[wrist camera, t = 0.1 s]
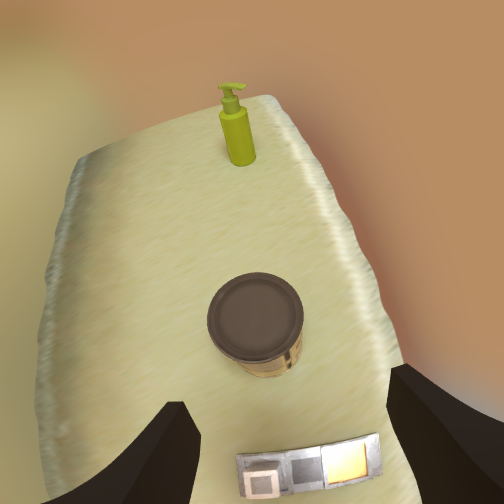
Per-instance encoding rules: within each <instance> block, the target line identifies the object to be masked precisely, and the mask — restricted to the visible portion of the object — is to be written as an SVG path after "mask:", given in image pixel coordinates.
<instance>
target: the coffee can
mask: <svg viewBox="0 0 504 504" xmlns="http://www.w3.org/2000/svg"><path fill="white" fill-rule="evenodd" d="M303 318H304V312H303V306H302V303H301V300H300V298H299V296H298V294H297V292H296V291H295V289H294V288H293V287H292V286H291V285H290V284H289V283H288V282H286V281H285V280H283V279H281V278H279V277H277V276H275V275H272V274H268V273H261V272H255V273H248V274H243V275H241V276H238V277H235V278H234V279H232V280H230V281H228V282H227V283H226V284H224V285H223V286H222V287H221V288H220V289H219V290H218V291H217V293H216V294H215V296H214V297H213V299H212V301H211V303H210V306H209V309H208V315H207V326H208V331H209V334H210V337H211V339H212V341H213V343H214V344H215V345H216V347H217V348H218V349H219V350H220V351H221V352H222V353H223V354H224V355H226V356H227V357H229V358H231V359H233V360H234V361H235V362H237V363H238V364H239V365H241V366H242V367H243V368H244V369H245V370H246V371H247V372H249V373H251V374H253V375H255V376H258V377H264V378H271V377H277V376H279V375H282V374H284V373H286V372H287V371H289V370H290V369H291V368H292V367H293V366H294V365H295V364H296V362H297V361H298V359H299V357H300V354H301V349H302V325H303Z"/></svg>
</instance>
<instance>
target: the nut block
mask: <svg viewBox="0 0 504 504" xmlns="http://www.w3.org/2000/svg"><path fill="white" fill-rule="evenodd" d="M243 474H244V483H245V492H246V499H265V498H279V497H280V495H281V491H282V486H283V484H282V475H281V466H280V462H269V463H255V464H250V466H249V467H248V468H247V469H246V470H245V471H244V472H243Z"/></svg>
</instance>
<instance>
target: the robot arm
mask: <svg viewBox="0 0 504 504" xmlns="http://www.w3.org/2000/svg"><path fill="white" fill-rule="evenodd" d="M386 408H387V411H388V414H389V417H390V420H391V423H392V427H393V429H394V432H395V434H396V436H397V438H398V440H399V443H400V445H401V447H402V449H403V451H404V453H405V456H406V458H407V460H408V462H409V464H410V467H411V469H412V471H413V473H414V476H415V479H416V481H417V485H418V488H419V492H420V496H421V500H422V504H504V423H503V422H501V421H498V420H496V419H493V418H491V417H489V416H487V415H485V414H482V413H480V412H478V411H477V410H475V409H473V408H471V407H469V406H468V405H466V404H464V403H463V402H461V401H459V400H458V399H456V398H455V397H453V396H451V395H450V394H449V393H447V392H445V391H444V390H443V389H441V388H440V387H438V386H437V385H436V384H434V383H433V382H432V381H430V380H429V379H427V378H426V377H425V376H423V375H422V374H421V373H419V372H418V371H416V370H415V369H414V368H413V367H411V366H410V365H408V364H407V363H406V364H403V365H400V366H397V367H394V368H391V375H390V383H389V391H388V398H387V404H386ZM200 444H201V434H200V432H199V430H198V429H197V427H196V425H195V423H194V421H193V419H192V417H191V416H190V414H189V412H188V410H187V408H186V406H185V404H184V402H183V401H182V402H167V403H166V404H165V405H164V407H163V408H162V409H161V410H160V411H159V413H158V414H157V415H156V416H155V417H154V418H153V420H152V421H151V422H150V423H149V424H148V425H147V427H146V428H145V429H144V430H143V431H142V432H141V433H140V434H139V436H138V437H137V438H136V439H135V440H134V441H133V442H132V443H131V444H130V445H129V446H128V447H127V448H126V449H125V450H124V451H123V452H122V453H121V454H120V455H119V456H118V457H117V458H116V459H115V460H114V461H113V462H112V463H111V464H109V465H108V466H107V467H106V468H105V469H103V470H102V471H101V472H99V473H98V474H97V475H95V476H94V477H93V478H91V479H90V480H88V481H87V482H85V483H83V484H82V485H80V486H79V487H77V488H75V489H74V490H72V491H70V492H68V493H66V494H64V495H62V496H60V497H57V498H55V499H53V500H50V501H48V502H45V503H42V504H189V502H190V498H191V494H192V489H193V485H194V481H195V476H196V472H197V467H198V462H199V457H200Z"/></svg>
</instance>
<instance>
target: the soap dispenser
mask: <svg viewBox="0 0 504 504" xmlns="http://www.w3.org/2000/svg"><path fill="white" fill-rule="evenodd" d="M245 86H246V85H245V84H241V83H236V82H228V83H222V84H221V85H220V86H218V88H219V89H223V91H224V95H225V96H224V97H223V98H222V100H221V101H222V105H223V109H224V110H222V111H221V112H220V113H219V117H220V121H221V125H222V128H223V132H224V136H225V139H226V143H227V147H228V151H229V154H230V158H231V162H232V163H233V164H234V165H236V166H246V165H249V164H251V163H252V162H254V160H255V158H256V155H255V149H254V144H253V139H252V134H251V129H250V124H249V118H248V113H247V109H246V108H245V107H243V106H240V105H239V100H238V96H237V95H233V93H232V89H237V90H242V89H243V88H244V87H245Z"/></svg>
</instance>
